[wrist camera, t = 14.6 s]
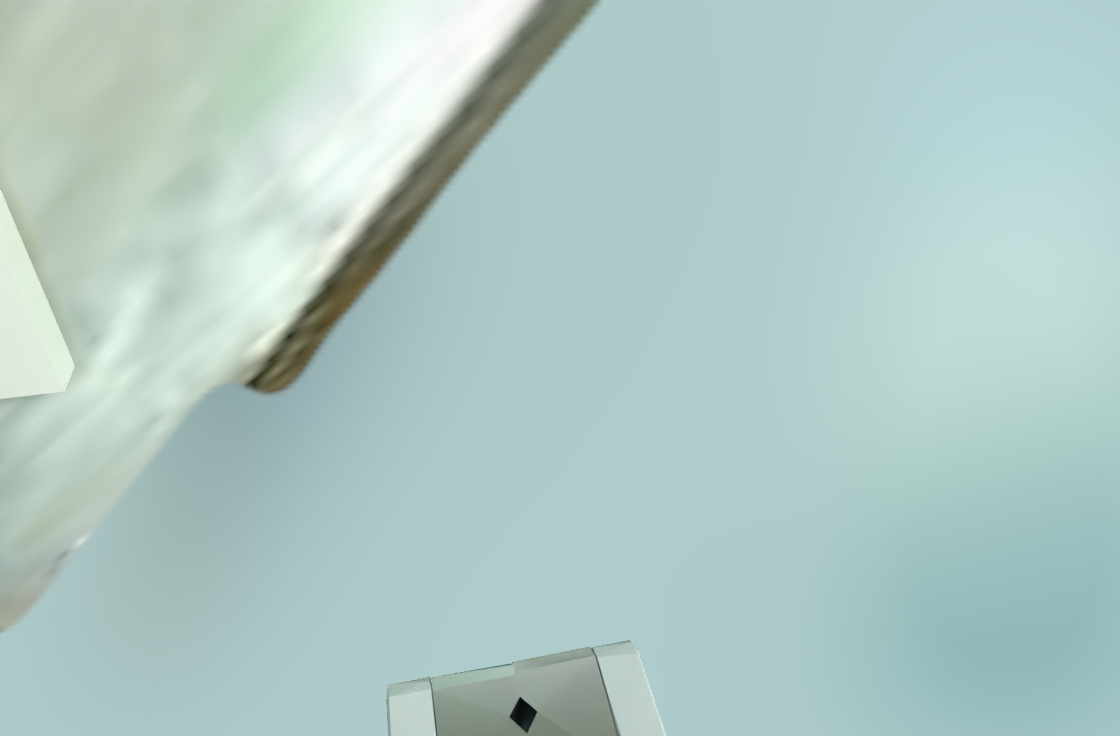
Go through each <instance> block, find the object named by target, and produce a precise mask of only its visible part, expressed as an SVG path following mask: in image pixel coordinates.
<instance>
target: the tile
mask: <svg viewBox="0 0 1120 736" xmlns="http://www.w3.org/2000/svg"><path fill="white" fill-rule="evenodd" d="M74 366H75V365H74V362H73V360H72V358H71V355H70V353H69V351H68V348H67V346H66V344H65V341H64V339H63V336H62V334H61V332H60V329H59V327H58V325H57V322H56V320H55V317H54V315H53V313H52V310H51V308H50V306H49V303H48V301H47V299H46V296H45V294H44V291H43V289H42V287H41V284H40V282H39V280H38V277H37V275H36V272H35V270H34V268H33V265H32V263H31V261H30V258H29V256H28V253H27V251H26V249H25V246H24V244H23V242H22V239H21V237H20V235H19V232H18V230H17V227H16V225H15V223H14V220H13V218H12V216H11V213H10V211H9V208H8V206H7V204H6V201H5V199H4V197H3V194H2V192H1V190H0V399H5V398H13V397H22V396H30V395H38V394H47V393H55V392H63V391H65V389H66V386H67V384H68V381H69V379H70V376H71V374H72V371H73V369H74Z"/></svg>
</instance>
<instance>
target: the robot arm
mask: <svg viewBox="0 0 1120 736" xmlns="http://www.w3.org/2000/svg"><path fill="white" fill-rule="evenodd" d="M431 679H432V683H431ZM386 701H387V718H388V736H666V733H665V730H664V727H663V724H662V721H661V718H660V715H659V712H658V709H657V706H656V703H655V700H654V697H653V694H652V691H651V688H650V685H649V682H648V679H647V676H646V673H645V670H644V667H643V664H642V661H641V658H640V655H639V652H638V649H637V648H636V647H635V645H634V644H633V643H632V642H631V641H630V640H627V641H622V642H618V643H613V644H607V645H602V646H597V647H592V648H590V647H586V648H581V649H576V650H571V651H567V652H561V653H557V654H552V655H547V656H542V657H537V658H532V659H527V660H522V661H517V662H512V664H505V665H499V666H494V667H488V668H482V669H477V670H471V671H465V672H460V673H454V674H449V675H443V676H438V677H432V678H430V677H427V678H422V679H417V680H412V681H406V682H401V683H396V684H391V685H388V689H387V700H386Z"/></svg>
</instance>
